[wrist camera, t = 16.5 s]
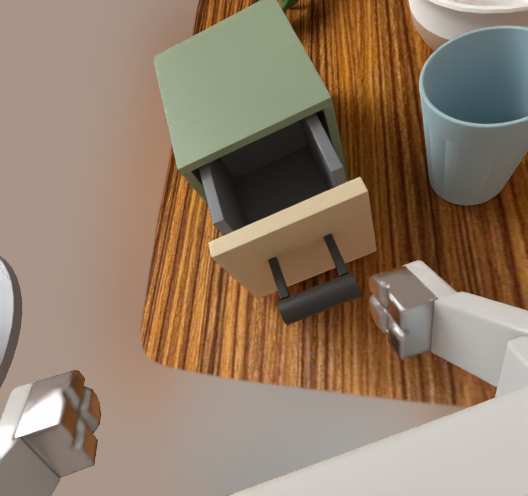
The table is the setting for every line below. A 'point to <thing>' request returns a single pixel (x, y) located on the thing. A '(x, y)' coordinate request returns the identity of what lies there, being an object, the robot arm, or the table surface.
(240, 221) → the beige drawer
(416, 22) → the bowl
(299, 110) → the cabinet
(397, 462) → the robot arm
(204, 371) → the table surface
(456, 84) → the cup
